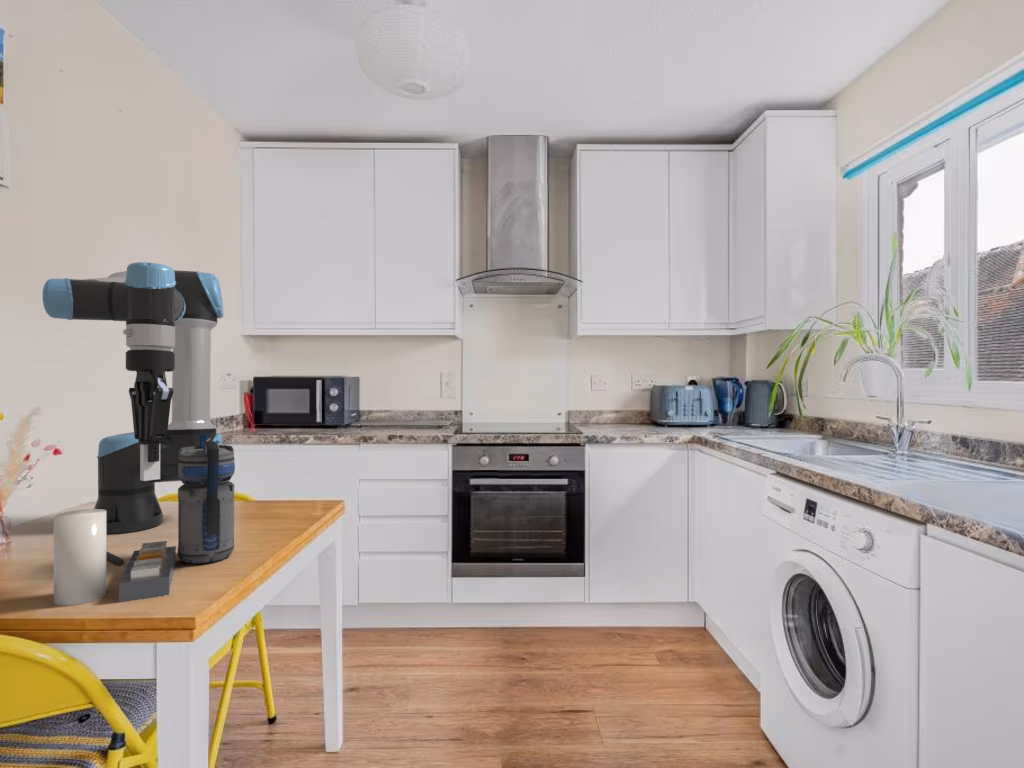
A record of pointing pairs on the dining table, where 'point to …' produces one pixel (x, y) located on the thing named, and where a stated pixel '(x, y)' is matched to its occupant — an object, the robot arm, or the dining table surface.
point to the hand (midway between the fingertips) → (150, 479)
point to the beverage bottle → (205, 502)
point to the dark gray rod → (114, 558)
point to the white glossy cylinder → (79, 556)
